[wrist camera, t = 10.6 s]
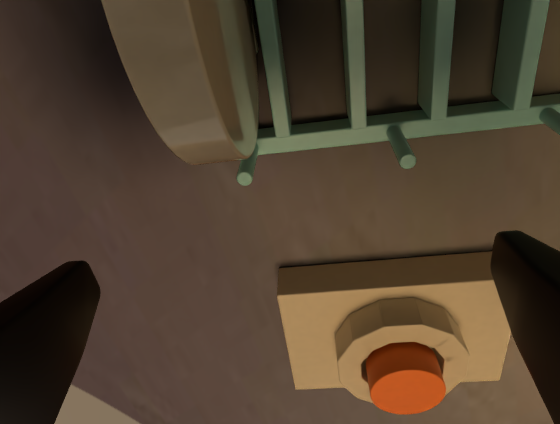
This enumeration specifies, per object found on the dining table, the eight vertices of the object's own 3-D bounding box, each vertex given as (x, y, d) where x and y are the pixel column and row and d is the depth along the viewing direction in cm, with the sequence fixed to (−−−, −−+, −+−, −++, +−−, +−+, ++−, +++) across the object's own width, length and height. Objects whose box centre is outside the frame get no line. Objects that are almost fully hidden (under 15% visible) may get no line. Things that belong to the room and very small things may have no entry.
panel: (505, 249, 22) (542, 305, 18) (486, 349, 26) (513, 409, 23) (278, 267, 23) (274, 322, 20) (295, 359, 27) (295, 418, 24)
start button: (438, 337, 20) (449, 368, 19) (434, 382, 22) (443, 413, 21) (364, 341, 21) (369, 372, 19) (366, 385, 23) (370, 416, 21)
